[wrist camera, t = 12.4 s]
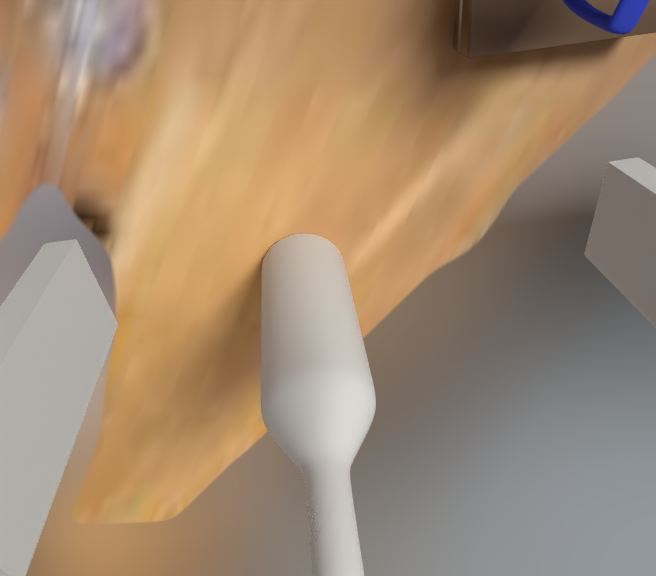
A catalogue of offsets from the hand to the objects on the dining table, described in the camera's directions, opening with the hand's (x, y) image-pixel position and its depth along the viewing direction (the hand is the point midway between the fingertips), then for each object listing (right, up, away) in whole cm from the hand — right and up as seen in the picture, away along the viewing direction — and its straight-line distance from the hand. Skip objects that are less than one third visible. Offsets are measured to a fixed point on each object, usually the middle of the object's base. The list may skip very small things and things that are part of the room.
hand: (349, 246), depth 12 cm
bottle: (-3, +1, +35) cm, 35 cm away
